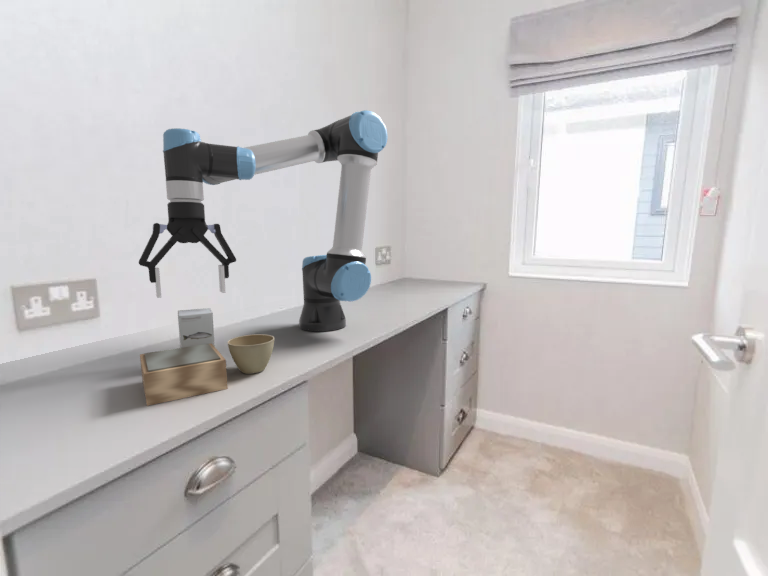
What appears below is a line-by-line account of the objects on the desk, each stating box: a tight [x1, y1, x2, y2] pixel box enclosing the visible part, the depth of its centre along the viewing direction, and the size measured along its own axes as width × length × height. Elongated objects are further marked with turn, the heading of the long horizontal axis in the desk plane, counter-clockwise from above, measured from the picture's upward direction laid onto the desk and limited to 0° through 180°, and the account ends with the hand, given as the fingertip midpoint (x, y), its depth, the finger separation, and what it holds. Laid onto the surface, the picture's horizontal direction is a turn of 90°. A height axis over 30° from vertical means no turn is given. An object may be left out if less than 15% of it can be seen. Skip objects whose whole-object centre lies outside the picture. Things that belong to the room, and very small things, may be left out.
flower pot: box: [226, 333, 275, 375], centre depth 91 cm, size 10×10×7 cm
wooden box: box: [139, 344, 229, 407], centre depth 82 cm, size 14×14×6 cm
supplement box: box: [177, 307, 216, 348], centre depth 96 cm, size 7×7×13 cm
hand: (192, 294), depth 94 cm, fingers open, 13 cm apart
